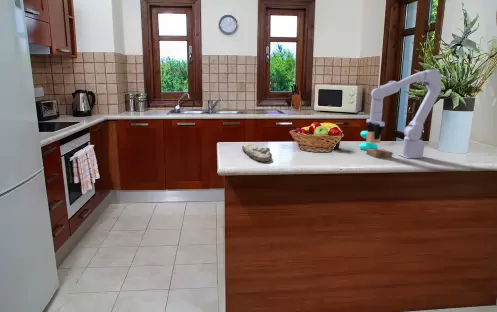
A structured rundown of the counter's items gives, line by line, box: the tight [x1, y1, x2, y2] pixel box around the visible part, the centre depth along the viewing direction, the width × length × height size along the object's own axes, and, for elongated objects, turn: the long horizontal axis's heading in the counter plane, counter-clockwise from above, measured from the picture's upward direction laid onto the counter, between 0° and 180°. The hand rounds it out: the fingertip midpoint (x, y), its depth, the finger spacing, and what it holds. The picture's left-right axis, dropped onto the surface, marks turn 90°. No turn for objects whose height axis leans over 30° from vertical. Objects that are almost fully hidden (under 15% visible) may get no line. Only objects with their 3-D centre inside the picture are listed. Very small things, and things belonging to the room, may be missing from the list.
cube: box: [365, 132, 382, 144], centre depth 183 cm, size 5×5×5 cm
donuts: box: [358, 130, 379, 151], centre depth 198 cm, size 10×10×10 cm
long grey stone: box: [241, 143, 273, 163], centre depth 180 cm, size 35×5×10 cm
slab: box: [365, 148, 393, 159], centre depth 183 cm, size 9×9×3 cm
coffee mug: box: [333, 130, 344, 150], centre depth 198 cm, size 12×9×10 cm
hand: (373, 138), depth 183 cm, fingers closed on cube, 5 cm apart
